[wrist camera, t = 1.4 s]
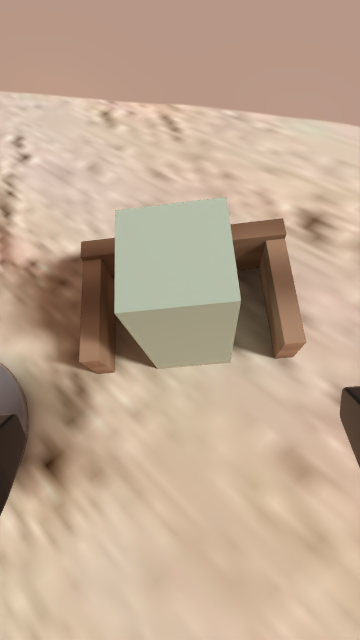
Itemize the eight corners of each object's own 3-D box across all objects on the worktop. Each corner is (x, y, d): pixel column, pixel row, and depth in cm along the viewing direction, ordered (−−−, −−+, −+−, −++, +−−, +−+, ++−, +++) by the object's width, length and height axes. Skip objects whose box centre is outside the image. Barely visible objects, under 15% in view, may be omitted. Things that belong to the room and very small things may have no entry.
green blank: (230, 362, 23) (241, 300, 13) (157, 368, 23) (114, 313, 13) (222, 295, 24) (226, 196, 15) (154, 302, 25) (115, 210, 15)
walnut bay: (293, 357, 22) (308, 339, 19) (98, 373, 23) (75, 360, 20) (273, 251, 25) (282, 218, 21) (100, 270, 26) (81, 241, 22)
